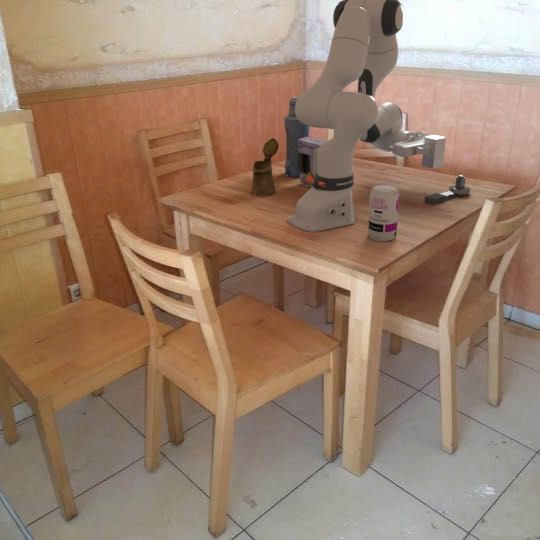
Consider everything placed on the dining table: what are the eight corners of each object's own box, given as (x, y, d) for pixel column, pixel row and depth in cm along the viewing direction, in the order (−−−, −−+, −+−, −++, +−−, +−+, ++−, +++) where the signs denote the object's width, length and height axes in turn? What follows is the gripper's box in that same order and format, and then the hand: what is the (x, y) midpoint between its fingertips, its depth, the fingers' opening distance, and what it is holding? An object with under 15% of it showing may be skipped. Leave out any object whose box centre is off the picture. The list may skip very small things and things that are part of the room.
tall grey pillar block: (432, 168, 190) (436, 139, 186) (421, 165, 194) (424, 137, 190) (442, 166, 193) (446, 137, 188) (431, 163, 196) (434, 134, 192)
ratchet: (457, 189, 200) (459, 171, 198) (473, 194, 195) (476, 176, 192) (420, 200, 191) (422, 182, 188) (436, 205, 186) (438, 187, 183)
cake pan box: (297, 183, 213) (296, 137, 205) (307, 181, 216) (307, 135, 208) (327, 196, 199) (328, 147, 191) (339, 193, 201) (340, 144, 193)
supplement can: (394, 231, 167) (398, 183, 161) (397, 242, 160) (401, 192, 153) (367, 231, 168) (369, 183, 162) (368, 242, 161) (371, 192, 154)
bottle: (283, 172, 227) (281, 96, 214) (306, 170, 229) (306, 94, 215) (288, 178, 219) (286, 100, 206) (312, 176, 220) (312, 98, 207)
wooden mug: (285, 186, 210) (284, 139, 202) (267, 197, 199) (266, 147, 191) (265, 183, 214) (263, 137, 206) (246, 194, 204) (244, 145, 196)
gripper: (385, 139, 194) (415, 146, 184) (425, 130, 204) (456, 137, 194) (384, 156, 197) (413, 164, 186) (424, 147, 207) (454, 155, 197)
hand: (435, 150), depth 190 cm, fingers closed on tall grey pillar block, 5 cm apart
